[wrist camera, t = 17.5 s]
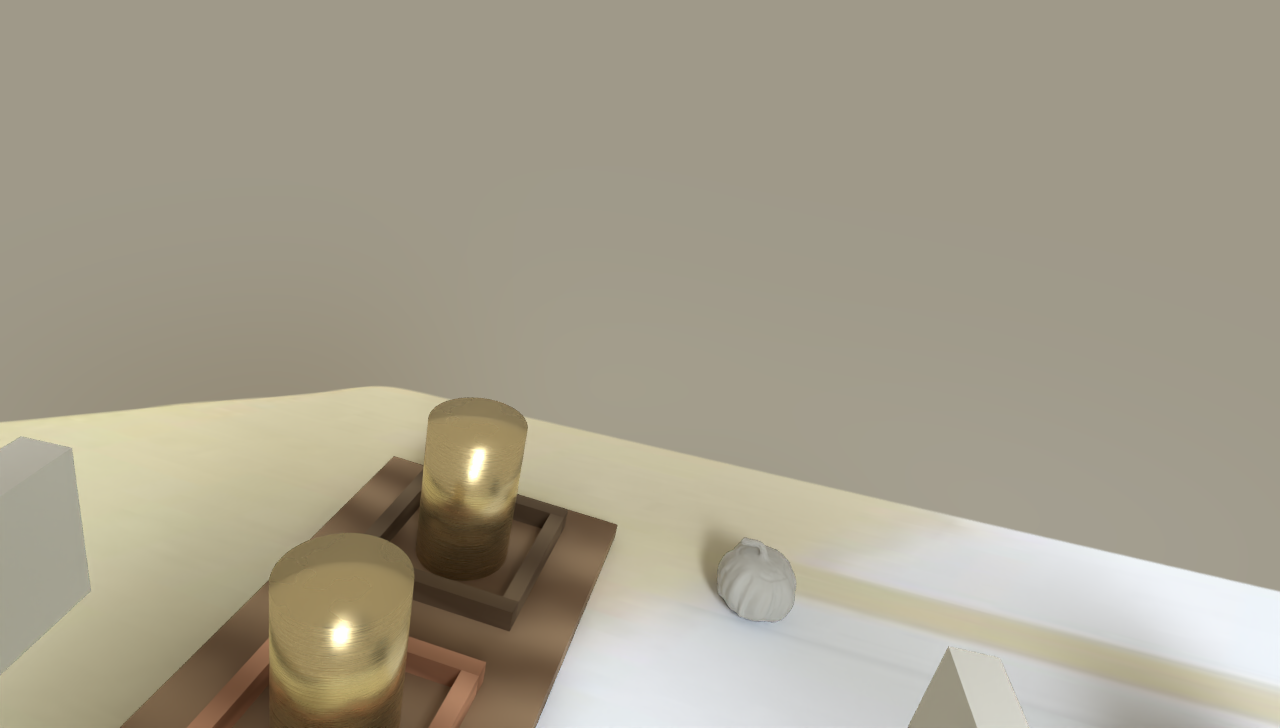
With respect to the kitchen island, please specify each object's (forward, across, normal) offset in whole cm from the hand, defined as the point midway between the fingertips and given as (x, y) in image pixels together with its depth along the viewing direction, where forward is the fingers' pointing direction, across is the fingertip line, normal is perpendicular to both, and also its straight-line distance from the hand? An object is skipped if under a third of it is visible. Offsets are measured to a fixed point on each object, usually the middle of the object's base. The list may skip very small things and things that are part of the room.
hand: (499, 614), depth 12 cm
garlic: (+34, +12, -28) cm, 46 cm away
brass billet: (+17, -10, -27) cm, 33 cm away
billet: (+32, -8, -27) cm, 43 cm away
